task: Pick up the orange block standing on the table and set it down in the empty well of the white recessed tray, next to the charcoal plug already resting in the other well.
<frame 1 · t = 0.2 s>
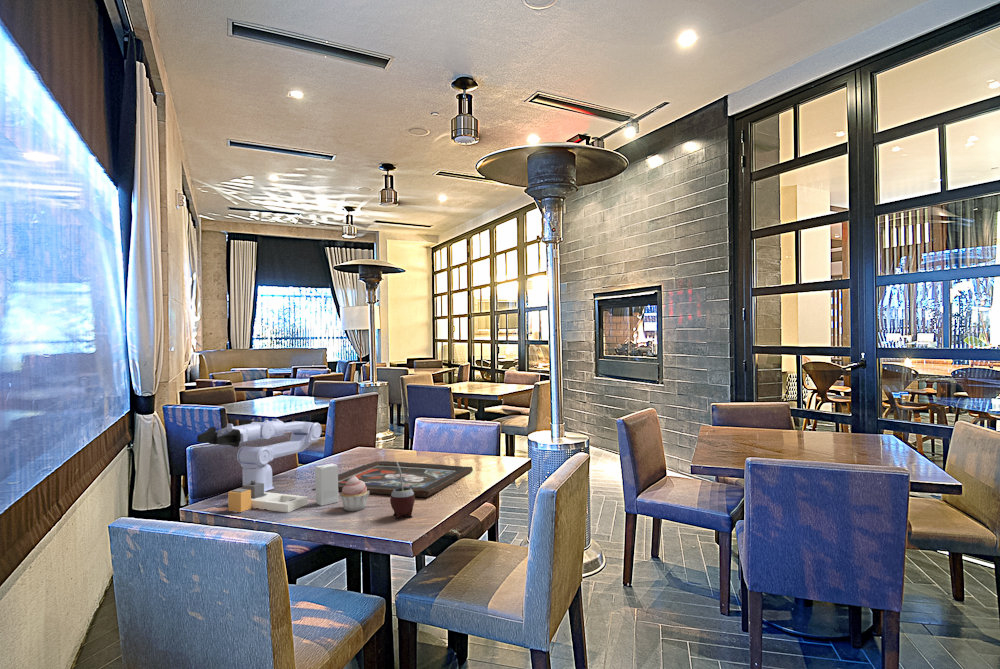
hand: (207, 440, 179), 21 cm above the table, tool horizontal, fingers open, 7 cm apart
mate gourd: (401, 516, 168), on the table
orange block: (239, 510, 176), on the table
cupcake: (354, 509, 176), on the table
white recessed tray: (268, 504, 182), on the table
twin plug: (253, 502, 184), resting in white recessed tray
skincare box: (327, 503, 183), on the table
religious icon: (400, 482, 211), on the table
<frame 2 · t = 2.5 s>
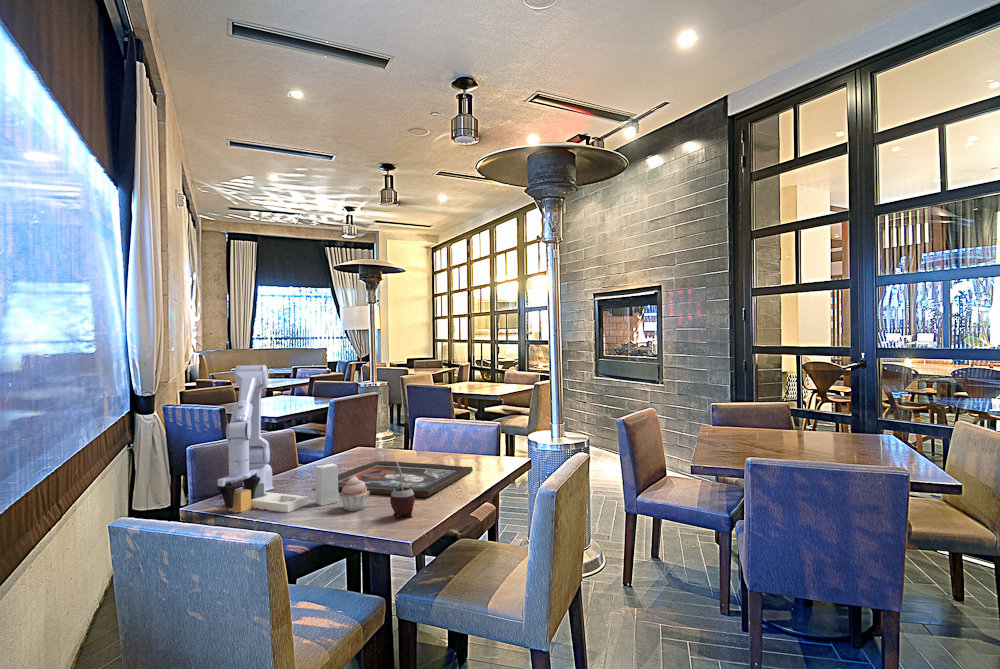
hand: (239, 504, 176), 2 cm above the table, tool pointing down, fingers open, 7 cm apart
nothing on the table moved.
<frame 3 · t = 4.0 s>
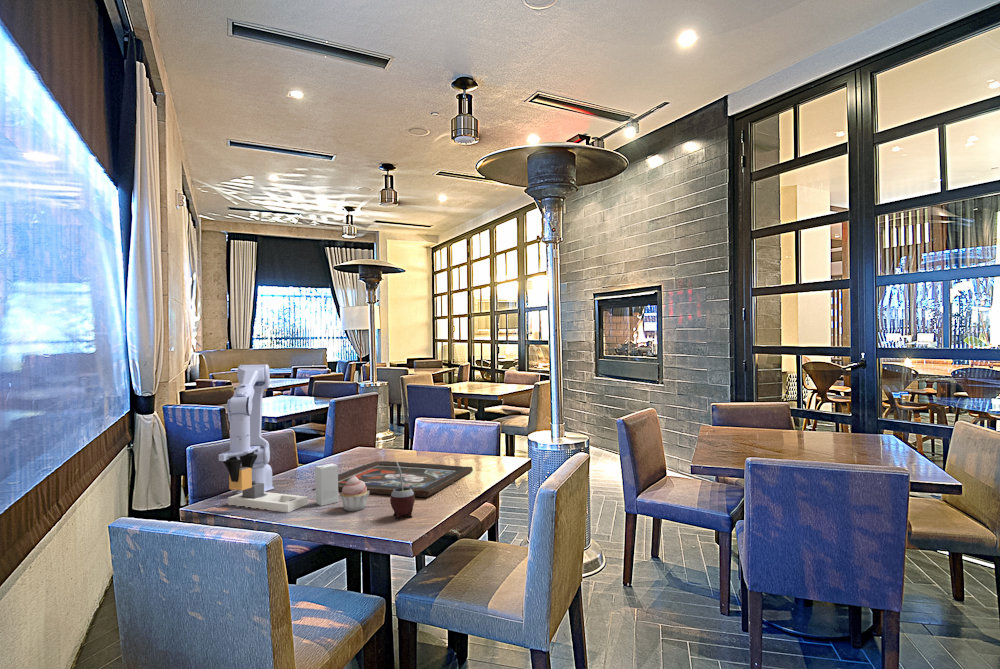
hand: (240, 479, 176), 9 cm above the table, tool pointing down, fingers closed on orange block, 4 cm apart
orange block: (240, 488, 176), point 7 cm above the table, touching gripper
everything else where it was.
when the fingers open (3 cm above the table, at t = 6.1 s): orange block stays where it is, resting in white recessed tray.
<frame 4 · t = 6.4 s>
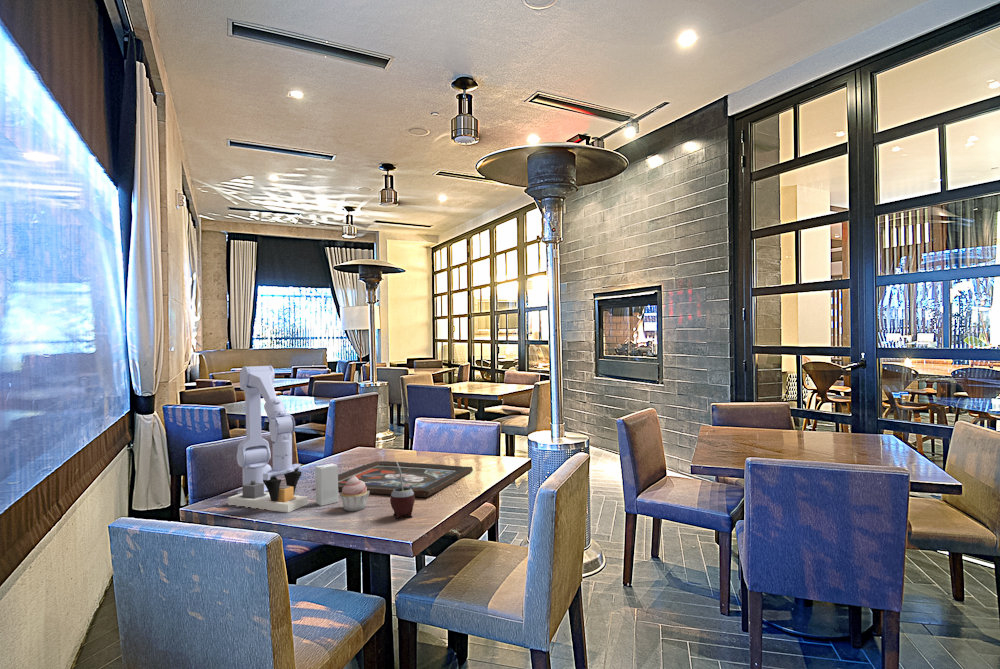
hand: (282, 497, 180), 3 cm above the table, tool pointing down, fingers open, 7 cm apart
orange block: (283, 506, 180), resting in white recessed tray
everything else where it was.
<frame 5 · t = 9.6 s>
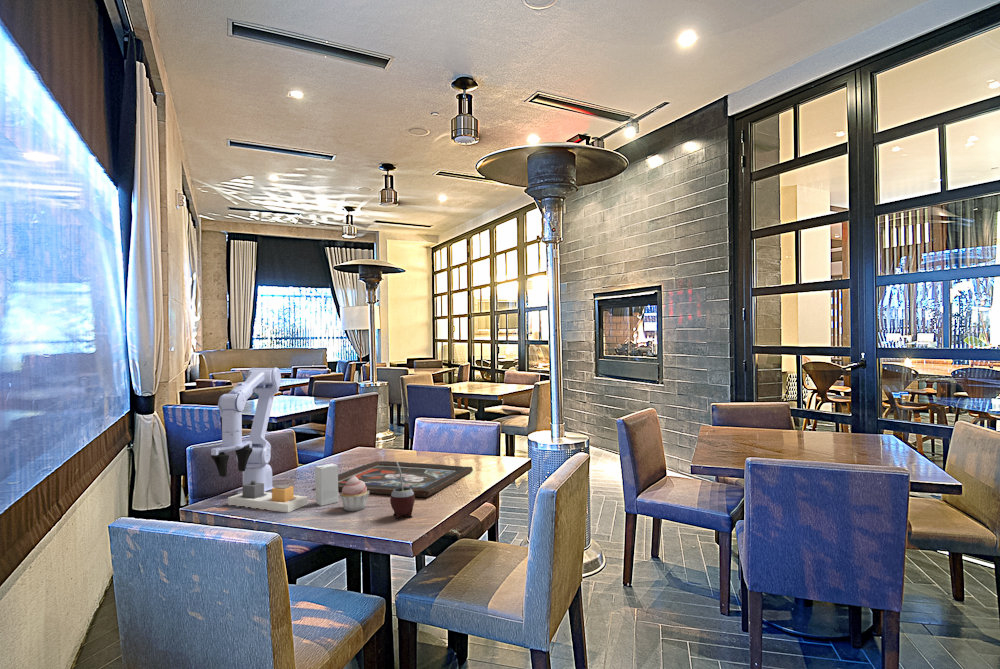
hand: (232, 473, 182), 10 cm above the table, tool pointing down, fingers open, 7 cm apart
nothing on the table moved.
at the end: orange block 0.0 cm from the target spot on the white recessed tray, point 0.0 cm above the white recessed tray's base; orange block tilted 0°; the gripper is holding nothing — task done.
